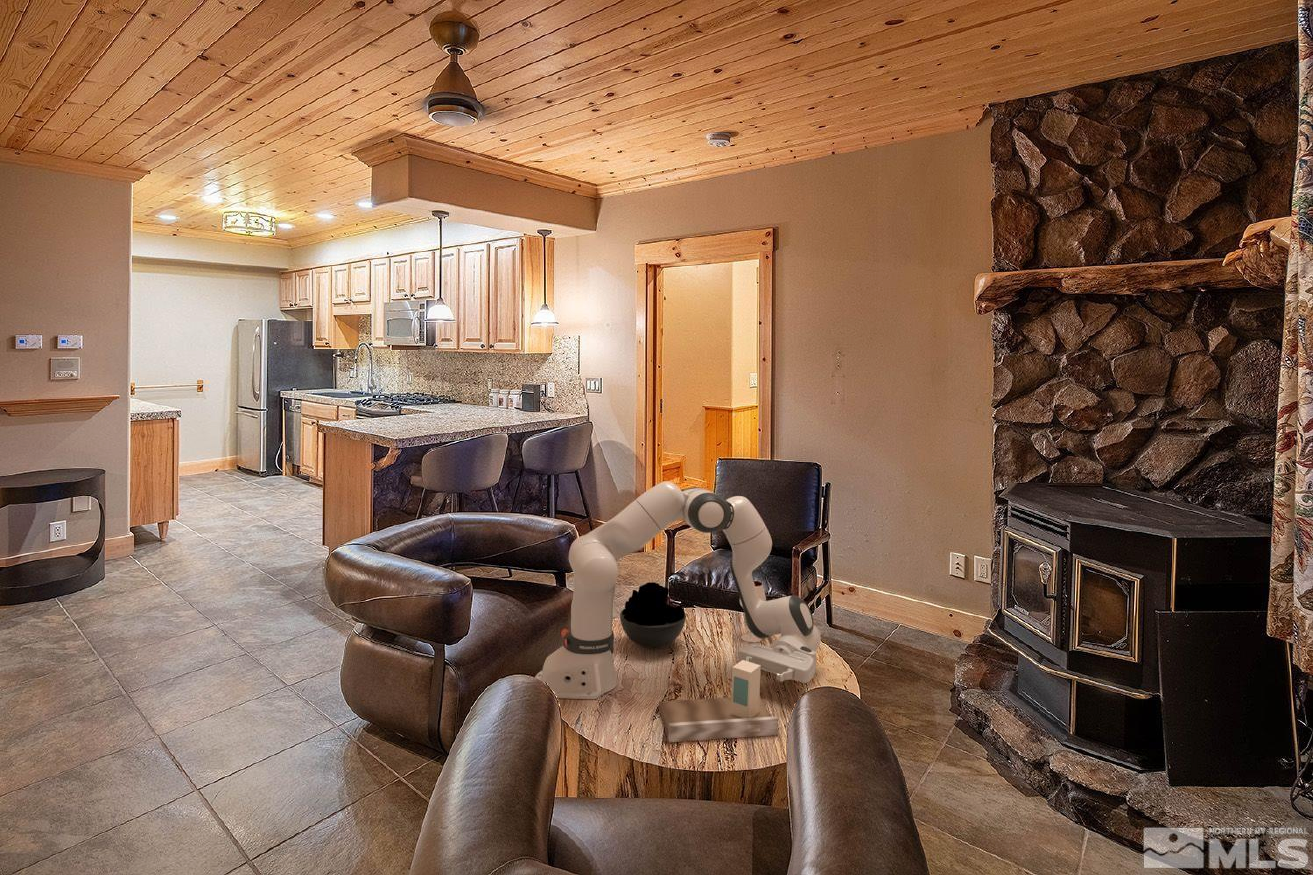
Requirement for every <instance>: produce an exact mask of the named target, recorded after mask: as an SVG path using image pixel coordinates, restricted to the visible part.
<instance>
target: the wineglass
mask: <svg viewBox="0 0 1313 875" xmlns="http://www.w3.org/2000/svg"><path fill="white" fill-rule="evenodd" d="M753 581H754V584H755V587H756V590H757V593H758V596H759V598H760V599H761V600H763V601H767V597H766V593H765V589H764V588H765V587H764V583H763V582H762V581H758V580H753ZM739 604H740V606H741V607H742V609H743V606H742V603H741V600H740V599H739ZM740 639H741V640H742V641H744V642H746V643H750V644H751V643H759V642H761V641H762V640H763V639H760V638H758V637H756V636H755V635H754V634H752V633H751V632H750V631H749V633H745V634H743V635H741V637H740Z"/></svg>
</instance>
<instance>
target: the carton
mask: <svg viewBox="0 0 1313 875" xmlns="http://www.w3.org/2000/svg"><path fill="white" fill-rule="evenodd" d="M760 692H761V665H758V664H754V663H751V662H748V661H745V660H742V661H740V662H739V661H738V663H736V664H735V665H733V666H732V673H731V714H733V715H736V716H738V717H741V718H752V717H754V716H755V715H756V714H757V713H758V712H759V697H760V698H761V696H760V695H761V694H760Z"/></svg>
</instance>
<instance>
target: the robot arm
mask: <svg viewBox="0 0 1313 875" xmlns="http://www.w3.org/2000/svg"><path fill="white" fill-rule="evenodd" d="M678 520H682V521H683V522H685V523H686V524H687V525H688V526H690V527H691V528H692V529H694V530H695V531H698V532H701V533H705V534H707V533H709V534H710V533H715V532H719V531H722V532H723V533H724V534H725V536H726V539H727V541H728V543H729V545H730V546H731V550H732V557H731V558H730V561H729V566H730V572H731V575H732V579H733V582H734V585H735V587H736V591H737V594H738V597H739V601H740V600H741V603H742V606H743V608H742V609H743V612H744V613H743V614H744V617H745V618H744V619H745V622H746V623H745V624H746V627H747V629H748V631H749V633H750V632H751V633H752V634H754V635H755V636H756V637H758V638H760V639H762V640H763V639H766V638H770V637H774V636H777V635H781V636H780V637H779V638H777V639H776V640H774V641H773V642H772V643H771V644H770V646H767V645H763V644H760V643H758V642H756V643H751V642H750V643H748V644H746V645H743V646H742V647H739V648H738V651H737V660H738V663H739V662H740V661H742V660H745V661H748V662H751V663H754V664H758V665H761V670H762V671H764V672H769V673H771V674H774V675H776V676H775V677H776V681H778V682H784V681H789V680H793V681H795V682H796V681H797V682H800V683H802V684H803V683H804V684H806V683H809V682H810V681H812V679H813V678H814V676H815V674H816V669H817V668H816V667H817V651H818V649H819V647H820V644H821V640H822V639H821V638H822V637H821V633H820V630H819V629H818V627H817V626H816V625H815V624H814V617H813V613H812V610H811V609H810V606H809V605H808V604H807V603H806V601H805V600H803V599H802V598H801V597H800V596H798V595H795V594H792V595H789V596H782V597H779V598H775V599H770V600H766V601H763V600H761V599H760V598H759V596H758V593H757V590H756V587H755V584H754V581H755V580H754V578H753V571H754V570H756V569H758V567H759V566H761V565H762V564H763V563H764V562H765V560H767V558H768V557H769V556H770V553H771V551H772V547H773V541H772V540H773V539H772V537H771V534H770V532H769V529H768V528H767V526H766V524H765V522H764V520H763V518H762V517H761V515H760V514H759V512H758V510H757V509H756V507H755V506H754V504H753V503H752V502H751V501H750V500H749V499H748V498H747V497H745V496H741V495H735V496H730V497H729V498H726V499H725V498H723V497H722V496H720V495H719V494H716V493H715V492H713V491H712V490H709V489H706V488H703V487H699V486H697V487H696V486H694V487H693V486H692V487H689V488H683V489H681V488H680V487H679V486H678V485H677V484H675V483H674V482H671V481H669V480H667V481H665V480H664V481H662V482H659V483H658V484H656V485H654V486H652V487H651V488H650V489H647V490H646V491H645V492H644V493H642V494H641V495H639V496H638V497H637V498H635V500H633V501H632V502H631V503H629V505H627V506H626V507H625V508H624V509H623V510H621V511H620V512H618V513H617V514H616V515H615V516H614V517H612V518H611V519H609V520H607V521H606V522H604V523H603V524H601V525H599V526H598V527H596V528H594V529H592V530H591V531H590V532H588V533H586V534H583V535H580V536H578V537H577V538H576V539H574V541H573V542H572V543H571V545H570V547H569V551H568V562H569V565H570V567H571V570H572V572H573V578H574V579H573V582H574V583H573V593H572V601H571V606H570V608H571V609H570V631H569V630H568V629H567V628H564V629H562V630H561V637H562V642H563V645H561V646H560V647H559V648H557V650H556V649H555V651H554V652H552V653H551V654H549V655H548V656H547V657H546V658H545V660H544V664H543V666H542V670H540V671H539V672H538V673H537V674H536V675H535V676H534V679H535V678H537V679H539V680H541V681H542V682H546V683H548V686H549V687H550V688H551V689H552V690H553V691H554V692H555V695H556V696H557V698H556V699H573V700H579V699H580V700H596V699H598V698H600V697H601V696H602V695H603V694H606V693H608V692H610V691H612V690H614V689H615V688H616V687H617V686H618V683H619V679H618V677H617V674H616V673H617V672H616V669H615V662H614V650H615V634H614V631H613V618H614V617H613V612H614V610H613V608H614V597H615V593H616V587H617V581H618V577H619V576H618V575H619V570H618V563H617V561H619V560H620V559H622V558H623V557H625V556H627V555H629V554H632V553H634V552H638V551H640V550H641V549H642V548H644V547H645V546H646V545H647V544H648V543H650V542H651V541H652V540H653V539H654V538H655V537H656V536H658V535H659V534H660V533H661V532H662V531H664V530H665V529H666V528H667V527H668V526H669V525H670V524H672V523H674V522H676V521H678ZM742 606H741V607H742Z"/></svg>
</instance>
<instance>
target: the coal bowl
mask: <svg viewBox="0 0 1313 875" xmlns="http://www.w3.org/2000/svg"><path fill="white" fill-rule="evenodd" d="M669 591H670V589H669V588H668V587H666V586H663V585H661V584H659V583H657V582H654V581H652V582H651V581H648V582H647V583H645V584H643V585H640V586H638V591H637V590H636V589H633V590H632V594H631V595H630V597H629V598H628V600H626V601H625V602H624V608H623V609H622V610H621V611H620V613H619V618H620V624H621V627H622V630H623V631H624V633H625V635H626V636H627V638H628V639H629V640H630V641H632V642H633V643H634V644H636V645H638V646H640V647H642V648H645V649H650V650H651V649H652V650H653V649H654V650H655V649H661V648H665V647H666V646H668V645H670V644H672V643H673V642H675V641H676V639H677V638H679V636H680V634H681V633H682V631H683V630H684V627H685V624H686V623H685V622H686V617H687V616H686V613H685V609H684V608H683V607H682V606H681V605H678V606H675V605H671V604H667V601H668V596H669V594H670V593H669Z"/></svg>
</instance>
